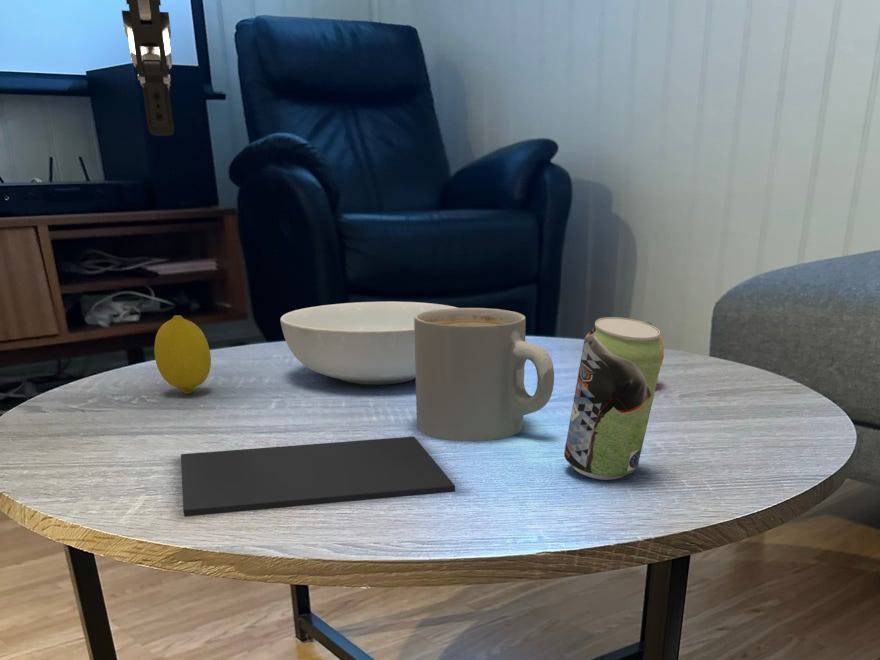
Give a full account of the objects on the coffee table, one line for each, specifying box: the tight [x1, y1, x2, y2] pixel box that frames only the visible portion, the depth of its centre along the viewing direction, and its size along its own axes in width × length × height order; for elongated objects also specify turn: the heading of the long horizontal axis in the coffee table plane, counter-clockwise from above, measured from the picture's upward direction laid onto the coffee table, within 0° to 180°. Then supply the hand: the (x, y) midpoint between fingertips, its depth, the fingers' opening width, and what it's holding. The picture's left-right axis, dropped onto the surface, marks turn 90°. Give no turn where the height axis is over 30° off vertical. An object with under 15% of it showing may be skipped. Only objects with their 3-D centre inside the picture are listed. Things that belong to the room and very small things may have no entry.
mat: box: [180, 436, 456, 517], centre depth 75 cm, size 20×14×1 cm
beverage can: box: [563, 316, 664, 481], centre depth 73 cm, size 6×7×12 cm
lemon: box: [153, 314, 212, 395], centre depth 97 cm, size 6×6×8 cm
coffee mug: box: [414, 307, 555, 442], centre depth 85 cm, size 13×10×10 cm
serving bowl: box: [279, 301, 458, 386], centre depth 105 cm, size 21×21×7 cm
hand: (162, 135), depth 87 cm, fingers open, 8 cm apart
